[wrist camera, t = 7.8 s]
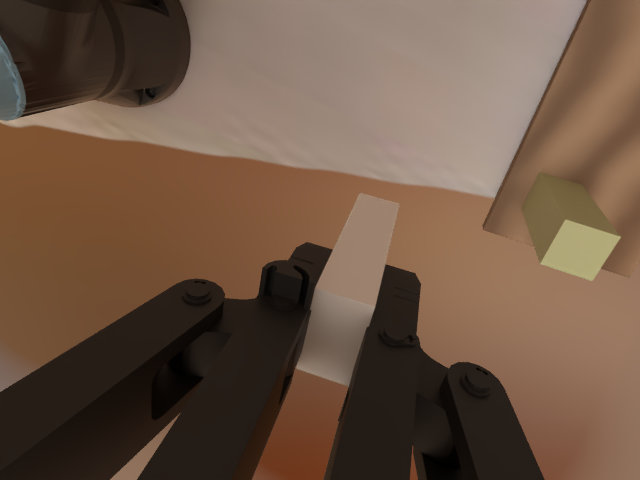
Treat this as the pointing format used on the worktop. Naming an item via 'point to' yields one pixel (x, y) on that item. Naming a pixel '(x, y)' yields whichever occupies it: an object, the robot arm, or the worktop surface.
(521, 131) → the worktop surface
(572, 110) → the walnut board
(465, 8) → the worktop surface
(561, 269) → the olive pillar
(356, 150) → the worktop surface
